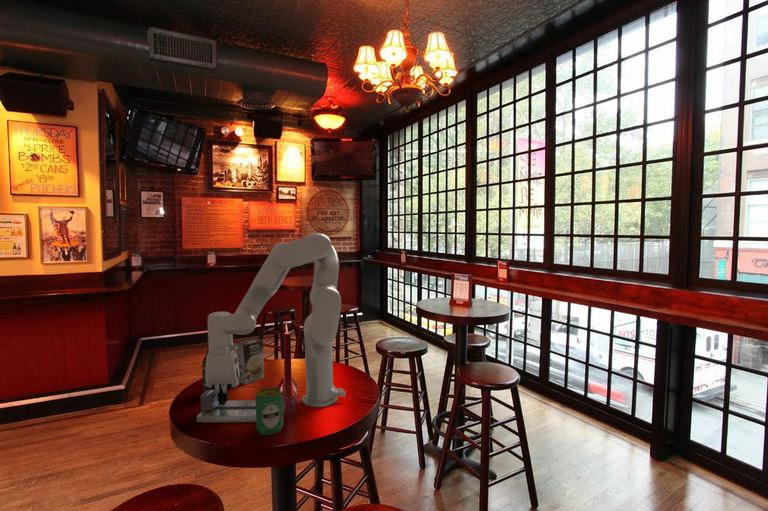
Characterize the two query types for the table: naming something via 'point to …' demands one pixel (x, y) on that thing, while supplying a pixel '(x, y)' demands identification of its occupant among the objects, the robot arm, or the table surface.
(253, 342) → the coffee box
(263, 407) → the beverage can
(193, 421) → the table surface
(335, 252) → the robot arm
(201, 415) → the console
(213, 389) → the beer bottle
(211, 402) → the fader cap
